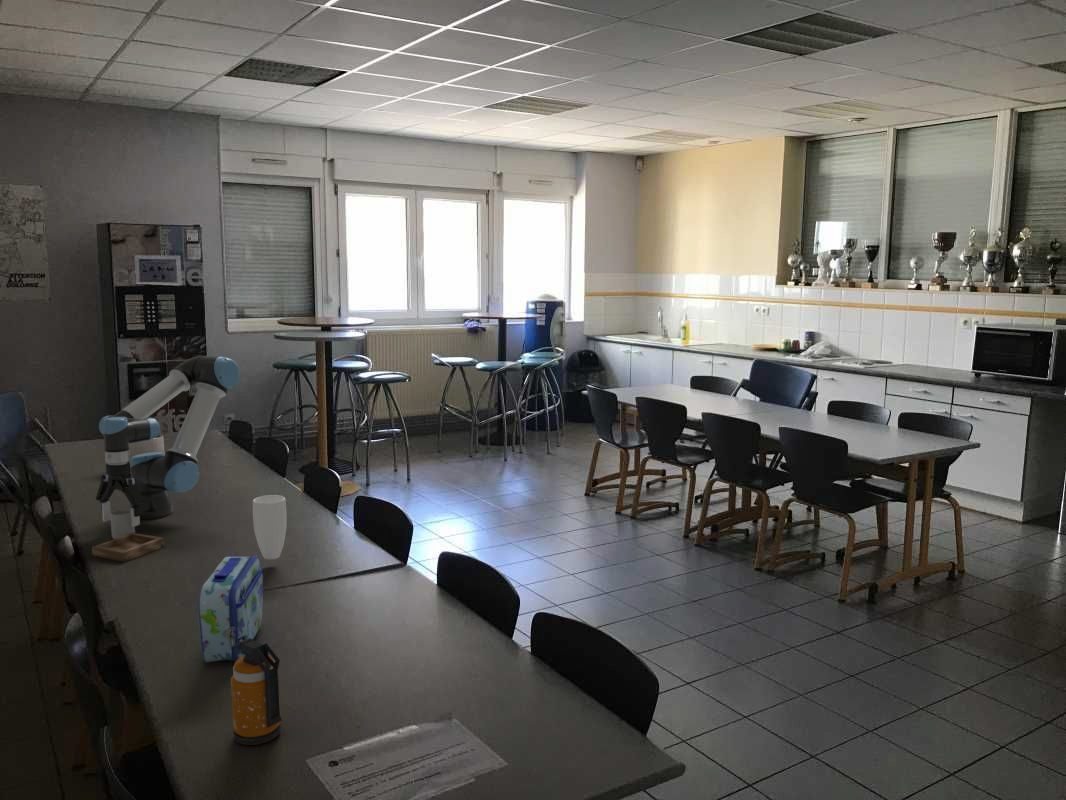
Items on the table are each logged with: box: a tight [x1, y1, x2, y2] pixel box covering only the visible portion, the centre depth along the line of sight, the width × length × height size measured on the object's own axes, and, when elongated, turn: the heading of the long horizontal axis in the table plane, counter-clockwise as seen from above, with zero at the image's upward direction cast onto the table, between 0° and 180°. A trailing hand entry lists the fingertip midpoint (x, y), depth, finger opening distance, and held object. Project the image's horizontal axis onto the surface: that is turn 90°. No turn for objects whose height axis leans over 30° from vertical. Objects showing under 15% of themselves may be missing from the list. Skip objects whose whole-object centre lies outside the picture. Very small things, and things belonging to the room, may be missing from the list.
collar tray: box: [91, 532, 165, 563], centre depth 277 cm, size 16×14×3 cm
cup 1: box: [110, 508, 136, 540], centre depth 293 cm, size 7×10×9 cm
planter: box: [129, 432, 166, 475], centre depth 384 cm, size 18×18×16 cm
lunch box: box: [198, 554, 264, 663], centre depth 208 cm, size 26×11×21 cm, turn 5°
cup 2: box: [252, 494, 288, 560], centre depth 263 cm, size 10×10×22 cm
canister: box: [230, 638, 283, 746], centre depth 168 cm, size 9×11×20 cm
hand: (121, 523), depth 292 cm, fingers open, 13 cm apart
